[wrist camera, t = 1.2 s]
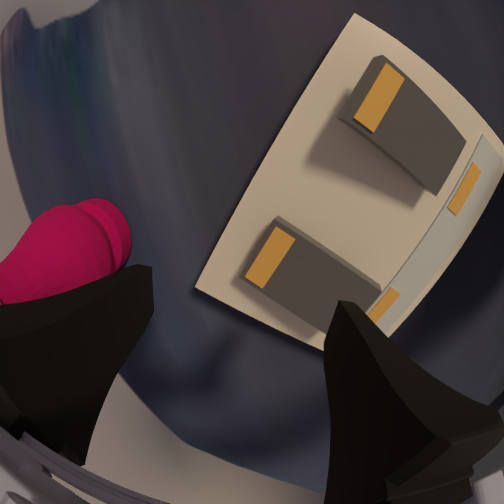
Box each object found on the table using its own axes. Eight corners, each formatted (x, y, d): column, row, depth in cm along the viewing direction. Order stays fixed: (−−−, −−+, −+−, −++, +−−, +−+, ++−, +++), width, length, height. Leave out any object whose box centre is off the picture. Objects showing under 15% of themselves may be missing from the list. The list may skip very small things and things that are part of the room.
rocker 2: (455, 138, 12) (468, 142, 11) (426, 190, 13) (437, 197, 13) (373, 57, 10) (384, 54, 9) (336, 117, 11) (345, 119, 10)
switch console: (491, 151, 14) (516, 156, 11) (354, 346, 22) (360, 371, 19) (346, 27, 12) (356, 9, 10) (204, 269, 20) (192, 291, 18)
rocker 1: (379, 284, 15) (382, 292, 14) (338, 333, 16) (337, 343, 15) (277, 215, 15) (273, 218, 14) (243, 271, 17) (237, 277, 16)
